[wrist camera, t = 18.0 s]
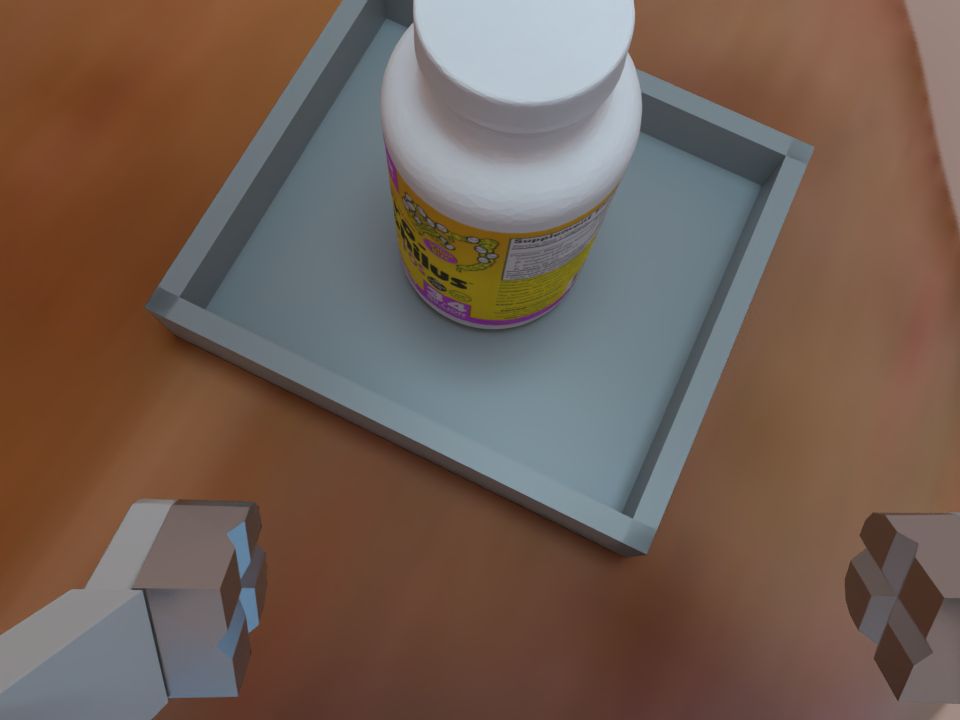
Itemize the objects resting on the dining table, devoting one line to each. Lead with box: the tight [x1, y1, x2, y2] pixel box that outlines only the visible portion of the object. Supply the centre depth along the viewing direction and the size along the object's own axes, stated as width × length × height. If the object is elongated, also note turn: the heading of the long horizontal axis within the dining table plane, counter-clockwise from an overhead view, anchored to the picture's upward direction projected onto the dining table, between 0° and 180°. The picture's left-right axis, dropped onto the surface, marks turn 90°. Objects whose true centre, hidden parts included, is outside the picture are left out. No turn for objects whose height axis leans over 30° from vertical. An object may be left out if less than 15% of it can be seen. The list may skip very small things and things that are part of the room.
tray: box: [144, 0, 814, 557], centre depth 28 cm, size 18×16×3 cm
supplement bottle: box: [380, 0, 642, 329], centre depth 23 cm, size 7×7×13 cm
